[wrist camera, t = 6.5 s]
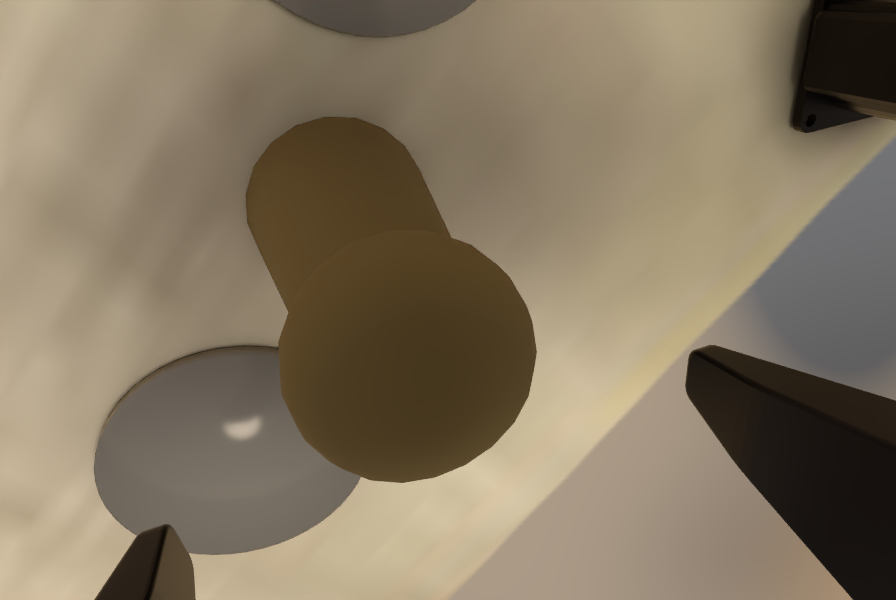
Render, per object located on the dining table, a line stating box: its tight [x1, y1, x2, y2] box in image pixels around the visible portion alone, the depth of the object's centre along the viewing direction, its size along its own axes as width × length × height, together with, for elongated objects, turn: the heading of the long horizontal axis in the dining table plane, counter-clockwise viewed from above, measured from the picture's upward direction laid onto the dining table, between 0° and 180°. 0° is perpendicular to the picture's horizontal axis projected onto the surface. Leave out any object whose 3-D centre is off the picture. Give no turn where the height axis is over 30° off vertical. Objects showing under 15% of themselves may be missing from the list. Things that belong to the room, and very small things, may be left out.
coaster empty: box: [94, 346, 361, 555], centre depth 23 cm, size 10×10×1 cm
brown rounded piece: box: [246, 117, 537, 483], centre depth 15 cm, size 6×6×11 cm
